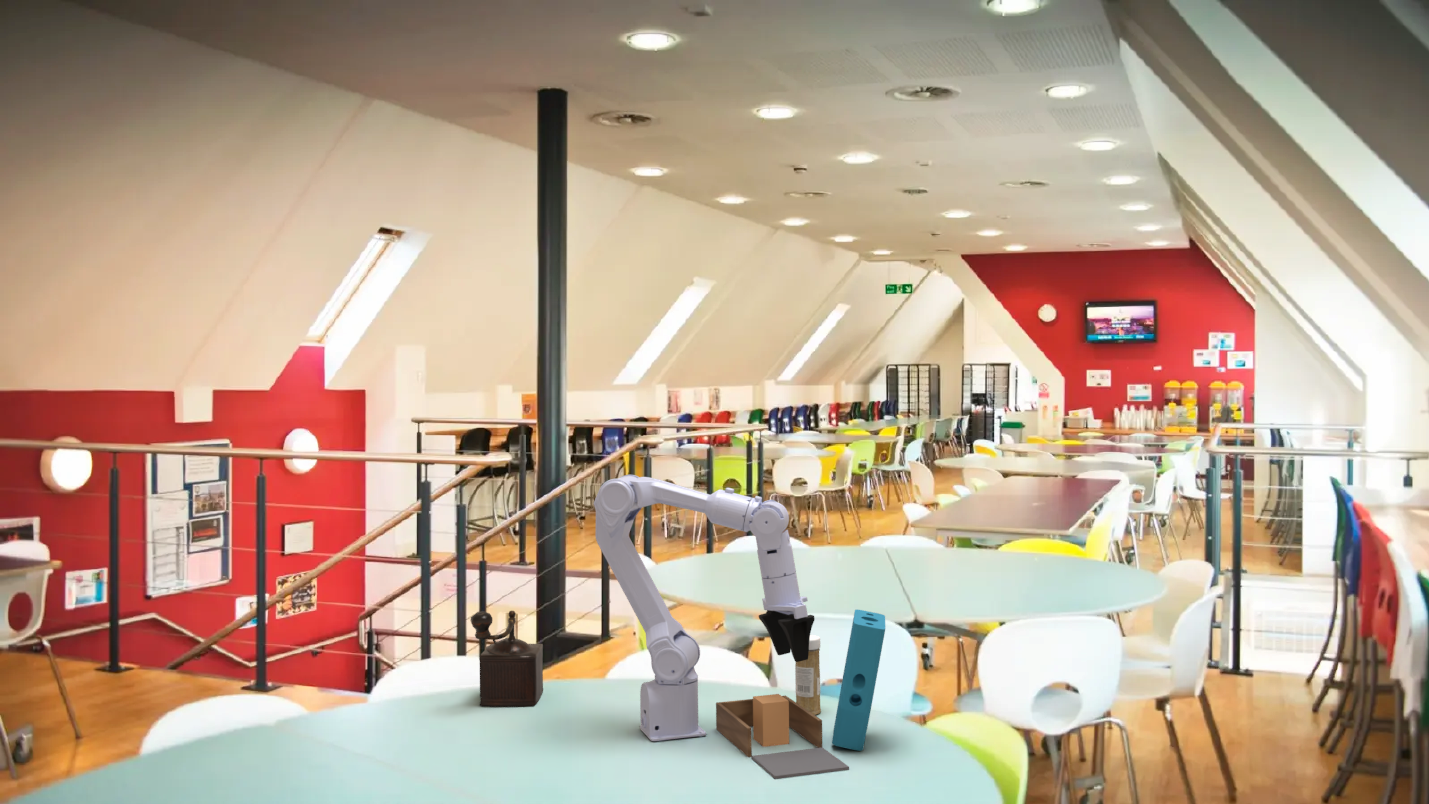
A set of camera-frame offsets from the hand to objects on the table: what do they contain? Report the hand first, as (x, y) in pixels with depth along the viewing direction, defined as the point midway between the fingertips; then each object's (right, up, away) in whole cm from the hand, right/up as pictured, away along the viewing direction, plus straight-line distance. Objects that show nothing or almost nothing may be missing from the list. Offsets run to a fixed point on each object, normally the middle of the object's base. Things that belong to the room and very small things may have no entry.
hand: (792, 657), depth 191 cm
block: (+9, -13, -2) cm, 16 cm away
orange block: (-4, -14, -1) cm, 14 cm away
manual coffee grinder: (-51, -14, +23) cm, 57 cm away
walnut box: (-4, -13, 0) cm, 14 cm away
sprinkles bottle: (+4, -13, +15) cm, 20 cm away
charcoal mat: (0, -14, -12) cm, 18 cm away
